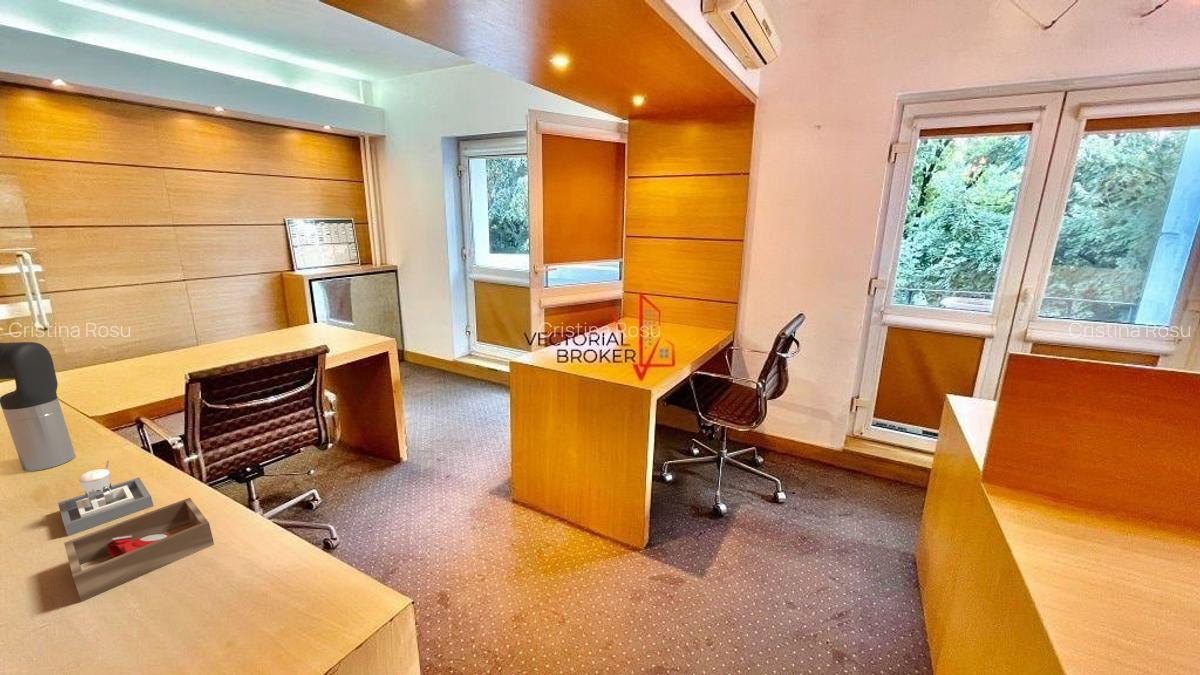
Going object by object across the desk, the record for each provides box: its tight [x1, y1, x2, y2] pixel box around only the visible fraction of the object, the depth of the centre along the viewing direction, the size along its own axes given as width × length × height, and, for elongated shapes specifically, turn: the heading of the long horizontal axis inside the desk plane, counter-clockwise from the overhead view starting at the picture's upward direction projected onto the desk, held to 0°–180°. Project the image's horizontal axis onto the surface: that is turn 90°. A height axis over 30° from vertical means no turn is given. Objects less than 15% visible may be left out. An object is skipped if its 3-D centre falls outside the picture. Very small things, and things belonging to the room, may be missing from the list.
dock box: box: [57, 477, 154, 537], centre depth 102 cm, size 13×13×2 cm
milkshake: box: [78, 460, 114, 510], centre depth 101 cm, size 4×5×10 cm
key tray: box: [63, 497, 215, 602], centre depth 88 cm, size 14×18×5 cm
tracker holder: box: [104, 533, 171, 559], centre depth 87 cm, size 12×4×10 cm
